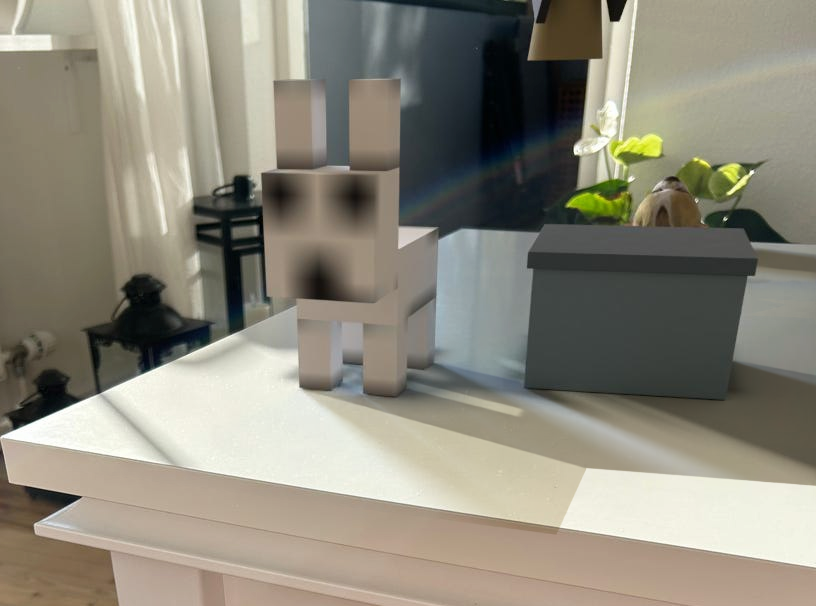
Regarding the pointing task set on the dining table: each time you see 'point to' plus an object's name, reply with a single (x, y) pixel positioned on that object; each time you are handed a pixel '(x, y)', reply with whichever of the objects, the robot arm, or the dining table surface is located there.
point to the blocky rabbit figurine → (348, 241)
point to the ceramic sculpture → (668, 207)
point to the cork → (569, 32)
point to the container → (636, 309)
